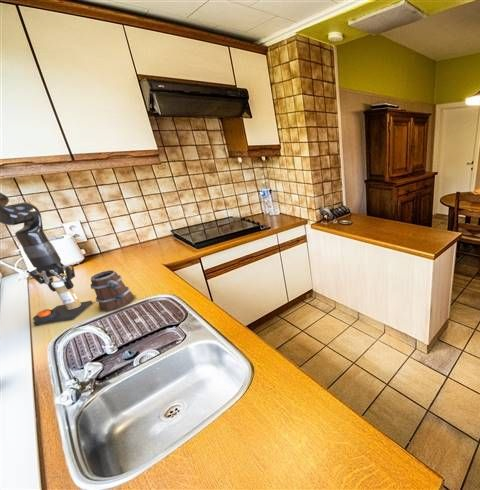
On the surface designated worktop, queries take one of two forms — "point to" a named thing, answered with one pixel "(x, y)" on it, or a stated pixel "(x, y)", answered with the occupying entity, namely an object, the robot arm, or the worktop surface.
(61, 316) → the scale
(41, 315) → the tare button
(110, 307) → the mug
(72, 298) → the sprinkles bottle
